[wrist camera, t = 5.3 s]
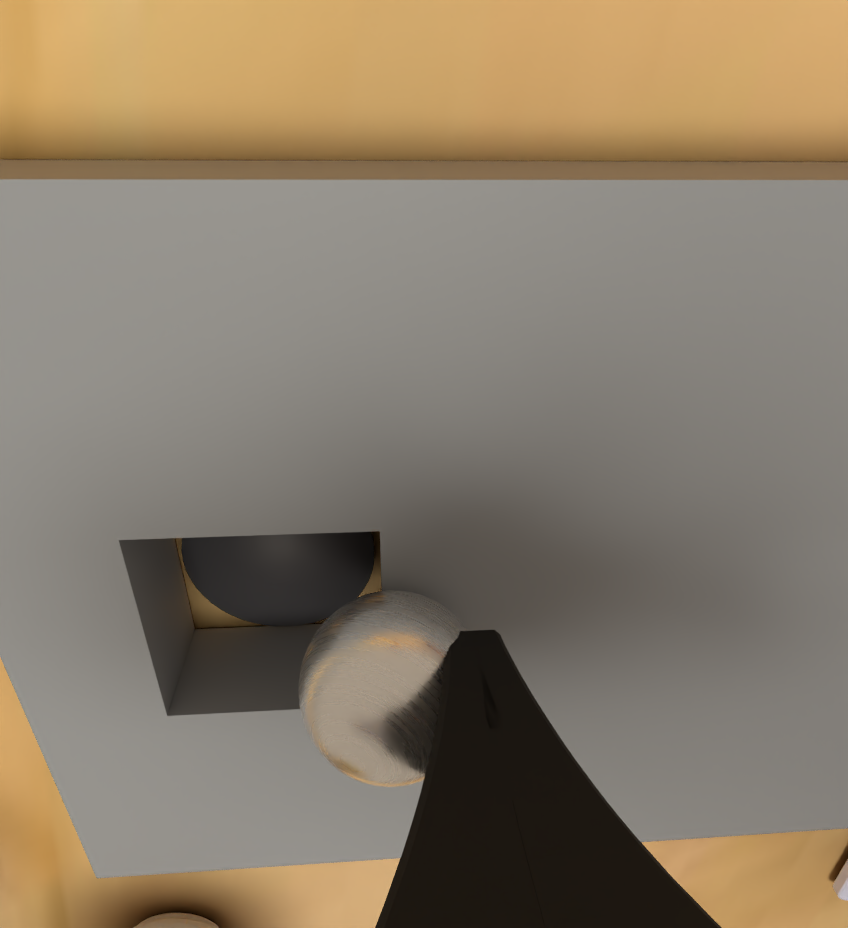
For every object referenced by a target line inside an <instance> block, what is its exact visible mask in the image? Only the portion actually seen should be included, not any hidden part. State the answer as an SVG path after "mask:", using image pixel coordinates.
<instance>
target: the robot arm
mask: <svg viewBox="0 0 848 928" xmlns="http://www.w3.org/2000/svg"><path fill="white" fill-rule="evenodd" d="M833 888H834V890H835V892H836V894H837V895H838V897H839V898H840V899H843V900H848V859H847V861H846V863H845V864H844V866H843V868H842V869H841V871H840V873H839V875H838V876H837V878H836V880H835V881H834V884H833ZM375 928H721V927H720V926H719V925H718V924H717V923H716V922H715V921H714V920H713V919H712V918H711V917H710V916H709V915H708V914H707V913H706V911H705V910H704V909H703V908H702V907H701V906H700V905H699V904H698V903H697V902H696V901H695V900H694V899H693V898H692V897H691V896H690V895H689V894H688V893H687V892H686V891H685V890H684V889H683V888H682V887H681V886H680V885H679V884H678V883H677V882H676V881H675V880H674V879H673V878H672V877H671V876H670V874H669V873H668V872H667V871H666V870H665V869H664V868H663V867H662V866H661V864H660V863H659V862H658V861H657V860H656V859H655V858H654V857H653V855H652V854H651V853H650V852H649V851H648V850H647V849H646V848H645V846H644V845H643V844H642V843H641V842H640V841H639V840H638V838H637V837H636V836H635V835H634V834H633V832H632V831H631V830H630V829H629V828H628V827H627V825H626V824H625V823H624V822H623V821H622V819H621V818H620V817H619V816H618V815H617V813H616V812H615V811H614V810H613V808H612V807H611V806H610V805H609V803H608V802H607V801H606V800H605V798H604V797H603V796H602V794H601V793H600V792H599V791H598V789H597V788H596V787H595V785H594V784H593V783H592V781H591V780H590V779H589V777H588V776H587V774H586V773H585V772H584V770H583V769H582V768H581V766H580V765H579V764H578V762H577V761H576V760H575V758H574V757H573V755H572V754H571V752H570V751H569V750H568V748H567V747H566V745H565V744H564V742H563V741H562V739H561V738H560V736H559V735H558V733H557V732H556V730H555V729H554V727H553V726H552V724H551V723H550V721H549V720H548V718H547V717H546V715H545V714H544V712H543V711H542V709H541V707H540V706H539V704H538V703H537V701H536V699H535V698H534V696H533V695H532V693H531V691H530V689H529V688H528V686H527V684H526V683H525V681H524V679H523V678H522V676H521V674H520V672H519V670H518V669H517V667H516V665H515V663H514V661H513V659H512V658H511V656H510V654H509V652H508V650H507V648H506V646H505V644H504V642H503V640H502V637H501V635H500V634H499V633H498V632H497V631H496V630H473V631H460V633H459V636H458V638H457V639H456V640H455V641H454V642H453V643H452V644H451V645H450V647H449V650H448V652H447V655H446V657H445V659H444V661H443V678H442V688H441V697H440V704H439V710H438V716H437V721H436V727H435V733H434V739H433V743H432V748H431V752H430V756H429V760H428V764H427V769H426V773H425V777H424V781H423V785H422V789H421V793H420V797H419V800H418V804H417V807H416V811H415V814H414V817H413V821H412V824H411V827H410V831H409V834H408V837H407V840H406V843H405V846H404V849H403V852H402V856H401V858H400V861H399V864H398V867H397V870H396V873H395V876H394V878H393V881H392V884H391V887H390V890H389V893H388V895H387V898H386V901H385V904H384V906H383V909H382V912H381V914H380V917H379V919H378V922H377V925H376V927H375Z"/></svg>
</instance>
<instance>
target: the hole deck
mask: <svg viewBox="0 0 848 928" xmlns="http://www.w3.org/2000/svg"><path fill="white" fill-rule="evenodd" d="M371 531H380V551H381V584H382V591H388V590H393V591H407V592H412V593H417V594H420V595H423V596H425V597H428V598H430V599H432V600H434V601H436V602H438V603H439V604H441V605H442V606H444V607H445V608H447V609H448V610H449V611H451V612H452V613H453V614H454V615H455V616H456V617H457V618H458V619H459V620H460V621H461V623H462V624H463V625H464V626H465V628H466V629H467V630H468V631H473V630H496V631H497V632H498V633H499V634H500V635H501V637H502V640H503V642H504V644H505V646H506V648H507V650H508V652H509V654H510V656H511V658H512V659H513V661H514V663H515V665H516V667H517V669H518V670H519V672H520V674H521V676H522V678H523V679H524V681H525V683H526V684H527V686H528V688H529V689H530V691H531V693H532V695H533V696H534V698H535V699H536V701H537V703H538V704H539V706H540V707H541V709H542V711H543V712H544V714H545V715H546V717H547V718H548V720H549V721H550V723H551V724H552V726H553V727H554V729H555V730H556V732H557V733H558V735H559V736H560V738H561V739H562V741H563V742H564V744H565V745H566V747H567V748H568V750H569V751H570V752H571V754H572V755H573V757H574V758H575V760H576V761H577V762H578V764H579V765H580V766H581V768H582V769H583V770H584V772H585V773H586V774H587V776H588V777H589V779H590V780H591V781H592V783H593V784H594V785H595V787H596V788H597V789H598V791H599V792H600V793H601V794H602V796H603V797H604V798H605V800H606V801H607V802H608V803H609V805H610V806H611V807H612V808H613V810H614V811H615V812H616V813H617V815H618V816H619V817H620V818H621V819H622V821H623V822H624V823H625V824H626V825H627V827H628V828H629V829H630V830H631V831H632V832H633V834H634V835H635V836H636V837H637V838H638V840H639V841H640V842H650V841H665V840H680V839H695V838H710V837H725V836H740V835H755V834H770V833H785V832H800V831H815V830H830V829H845V828H848V162H736V161H369V160H3V159H0V657H1V659H2V662H3V664H4V666H5V669H6V671H7V673H8V676H9V678H10V680H11V682H12V685H13V687H14V689H15V692H16V694H17V696H18V699H19V701H20V703H21V705H22V708H23V710H24V712H25V715H26V717H27V719H28V722H29V724H30V726H31V728H32V731H33V733H34V735H35V738H36V740H37V742H38V745H39V747H40V749H41V751H42V754H43V756H44V758H45V761H46V763H47V765H48V768H49V770H50V772H51V774H52V777H53V779H54V781H55V784H56V786H57V788H58V790H59V793H60V795H61V797H62V800H63V802H64V804H65V807H66V809H67V811H68V813H69V816H70V818H71V820H72V823H73V825H74V827H75V830H76V832H77V834H78V836H79V839H80V841H81V843H82V846H83V848H84V850H85V853H86V855H87V857H88V859H89V862H90V864H91V866H92V869H93V871H94V873H95V876H96V878H109V877H124V876H139V875H154V874H169V873H184V872H199V871H214V870H229V869H244V868H259V867H274V866H289V865H304V864H319V863H334V862H349V861H364V860H379V859H394V858H401V856H402V852H403V849H404V846H405V843H406V840H407V837H408V834H409V831H410V827H411V824H412V821H413V817H414V814H415V811H416V807H417V804H418V800H419V797H420V793H421V789H422V785H423V781H424V780H423V781H420V782H417V783H414V784H411V785H406V786H398V787H382V786H374V785H369V784H366V783H362V782H360V781H357V780H355V779H353V778H351V777H349V776H347V775H345V774H343V773H342V772H340V771H339V770H337V769H336V768H335V767H334V766H332V765H331V764H330V763H329V762H328V761H327V760H326V759H325V758H324V757H323V756H322V754H321V753H320V752H319V751H318V749H317V748H316V747H315V745H314V743H313V742H312V740H311V738H310V736H309V734H308V732H307V730H306V728H305V725H304V722H303V718H302V714H301V710H300V705H299V691H298V687H299V676H300V670H301V666H302V661H303V658H304V656H305V653H306V651H307V648H308V646H309V644H310V642H311V640H312V638H313V637H314V635H315V633H316V632H317V630H318V629H319V628H320V627H321V625H322V624H310V623H314V622H317V621H320V620H323V619H326V618H328V617H330V616H331V615H332V614H333V613H334V612H335V611H336V610H337V609H339V608H341V607H342V606H344V605H345V604H347V603H348V602H350V601H352V600H354V599H356V598H357V597H358V596H359V594H360V593H361V592H362V591H363V589H364V588H365V586H366V584H367V583H368V581H369V578H370V576H371V573H372V569H373V565H374V540H373V535H372V532H371ZM175 538H182V557H183V562H184V565H185V568H186V571H187V573H188V575H189V577H190V579H191V581H192V582H193V584H194V585H195V587H196V588H197V589H198V590H199V591H200V592H201V594H202V595H203V596H204V597H205V598H207V599H208V600H209V601H210V602H211V603H212V604H214V605H215V606H217V607H218V608H220V609H221V610H223V611H225V612H226V613H228V614H230V615H232V616H235V617H237V618H240V619H242V620H245V621H249V622H252V623H256V624H261V625H267V626H260V627H236V628H213V629H195V628H194V623H193V619H192V614H191V610H190V605H189V601H188V596H187V592H186V587H185V583H184V578H183V574H182V569H181V565H180V560H179V556H178V551H177V547H176V542H175ZM305 624H306V625H305Z"/></svg>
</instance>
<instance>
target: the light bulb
mask: <svg viewBox="0 0 848 928" xmlns="http://www.w3.org/2000/svg"><path fill="white" fill-rule="evenodd" d="M133 928H219V927H218V926H217V925H216V924H215V923H213V922H212V921H210V920H208V919H206V918H204V917H202V916H198V915H194V914H188V913H165V914H160V915H156V916H152V917H150V918H147V919H145V920H144V921H142V922H140V923H139V924H138V925H137V926H135V927H133Z"/></svg>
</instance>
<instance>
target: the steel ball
mask: <svg viewBox="0 0 848 928" xmlns="http://www.w3.org/2000/svg"><path fill="white" fill-rule="evenodd" d="M460 631H468V630H467V629H466V628H465V626H464V625H463V624H462V623H461V621H460V620H459V619H458V618H457V617H456V616H455V615H454V614H453V613H452V612H451V611H449V610H448V609H447V608H445V607H444V606H442V605H441V604H439V603H438V602H436V601H434V600H432V599H430V598H428V597H425V596H423V595H420V594H417V593H412V592H407V591H393V590H388V591H379V592H374V593H370V594H366V595H364V596H361V597H359V598H356V599H354V600H352V601H350V602H348V603H347V604H345V605H344V606H342V607H341V608H339V609H337V610H336V611H335V612H334V613H333V614H332V615H331V616H330V617H329V618H328V619H327V620H326V621H325V622H324V623H323V624H322V625H321V627H320V628H319V629H318V630H317V632H316V633H315V635H314V637H313V638H312V640H311V642H310V644H309V646H308V648H307V651H306V653H305V656H304V658H303V661H302V666H301V670H300V676H299V687H298V691H299V705H300V710H301V714H302V718H303V722H304V725H305V728H306V730H307V732H308V734H309V736H310V738H311V740H312V742H313V743H314V745H315V747H316V748H317V749H318V751H319V752H320V753H321V754H322V756H323V757H324V758H325V759H326V760H327V761H328V762H329V763H330V764H331V765H332V766H334V767H335V768H336V769H337V770H339V771H340V772H342V773H343V774H345V775H347V776H349V777H351V778H353V779H355V780H357V781H360V782H362V783H366V784H369V785H374V786H382V787H398V786H406V785H411V784H414V783H417V782H420V781H423V780H424V777H425V773H426V769H427V764H428V760H429V756H430V752H431V748H432V743H433V739H434V733H435V727H436V721H437V716H438V710H439V704H440V697H441V688H442V678H443V661H444V659H445V657H446V655H447V652H448V650H449V647H450V645H451V644H452V643H453V642H454V641H455V640H456V639H457V638H458V636H459V633H460Z"/></svg>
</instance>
